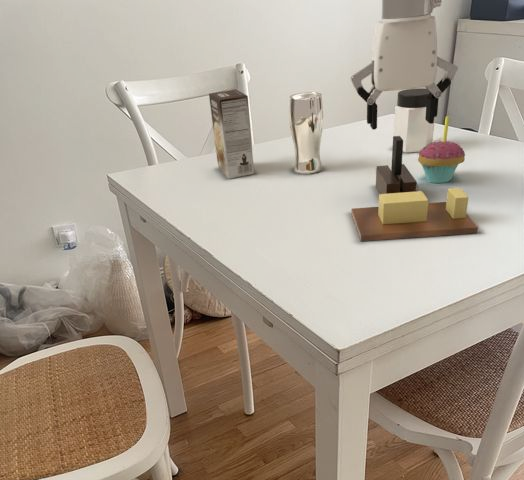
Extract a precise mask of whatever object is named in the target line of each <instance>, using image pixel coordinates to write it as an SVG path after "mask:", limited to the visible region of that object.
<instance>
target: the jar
mask: <svg viewBox="0 0 524 480" xmlns="http://www.w3.org/2000/svg"><path fill="white" fill-rule="evenodd" d="M429 93H430V92H429V91H428V90H427V88H413V89H404V90H399V91H398V92H397V99H396V100H397V102H396V105H395V108H394V123H393V124H394V125H393V136H400V137H401V138H402V139H403V153H404V154H405V153H406V154H407V153H409V154H410V153H420V150H422V148H423V147H425V146H426V145H427V144H430V143H432V142H434V141H433V140H434V131H435V121H436V117H434V123H433V124H430V123H428V122H427V121H426V119H425V117H426V103H427V97H428V95H429Z"/></svg>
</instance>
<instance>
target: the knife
mask: <svg viewBox="0 0 524 480" xmlns="http://www.w3.org/2000/svg"><path fill="white" fill-rule="evenodd" d="M391 151H392V153H391V167H390V169H391V171H392V172H393V174H394V176H395V177H396V179H397V180H398V182H399V193H400V183H401V178H400V176H399V175H401V169H402V164H403V155H404V154H403V153H404V152H403V139H402V138H401V137H400V136H394V135H393V137H392V150H391Z"/></svg>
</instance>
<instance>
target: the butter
mask: <svg viewBox="0 0 524 480" xmlns="http://www.w3.org/2000/svg"><path fill="white" fill-rule="evenodd" d="M428 203H429V198H428V197H427V196H426V194H425V193H424V192H423V191H422V190H419V191H417V190H416V192H403V193H389V194H379V193H378V206H377V207H378V215H379V217H380V219H381V222H382V224H396V223H410V222H424V221H427V211H428Z"/></svg>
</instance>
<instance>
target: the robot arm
mask: <svg viewBox="0 0 524 480" xmlns="http://www.w3.org/2000/svg"><path fill="white" fill-rule="evenodd" d="M441 6H442V0H381V20H380V21H377V22H376V23H375V28H374V34H373V42H372V52H371V54H372V55H371V62H370V63H368V64H367V65H366V66H364V67H363V68H362V69H359V71H357V72H356V73H354V74H352V76H351V77H350V81H351V83H352V85H353V89H354V90H355V92H356V93H357V95H358V96H359V97H360V98H362V100H363V101H364V102H366V123H367V124H366V125H369V127H370V128H371V130H377V129H378V104H377V103H376V101H377V100H378V98H379V97H380V96H381V94H382V93H383V92H393V91H403V90H408V89H423V88H425V89H427V90H428V91H429V92H430V93H429V95H428V97H427V103H426V117H425V119H426V121H427V122H428V123H430V124H433V123H434V124H435V122H434V117H435V118H437V117H438V111H439V98H440V97H442V94H443V93H444V92H445V91H446V89H447V88H449V87H450V85H451V83H452V80H453V79H454V77H455V75H456V74H457V72H458V69H459V67H458V65H456V64H453V63H452V62H449V60H446V59H443V58H442V57H440V56H438V35H437V33H438V31H437V21H436V16H434V15H432V13H433V10H434V9H436V8H437V7H441ZM438 68H440V69H442V70H443V71H445V73H444V75H443V77H442V78H441V80H439V81H438V82H437V84H436V79H437V73H438V72H437V70H438ZM369 76H370V84H371V85H372V86H371V88H370V90H369V91H367V90H366V89H365V87H364V86H363V83H362V82H363V80H364V79H366V78H367V77H369Z"/></svg>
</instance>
